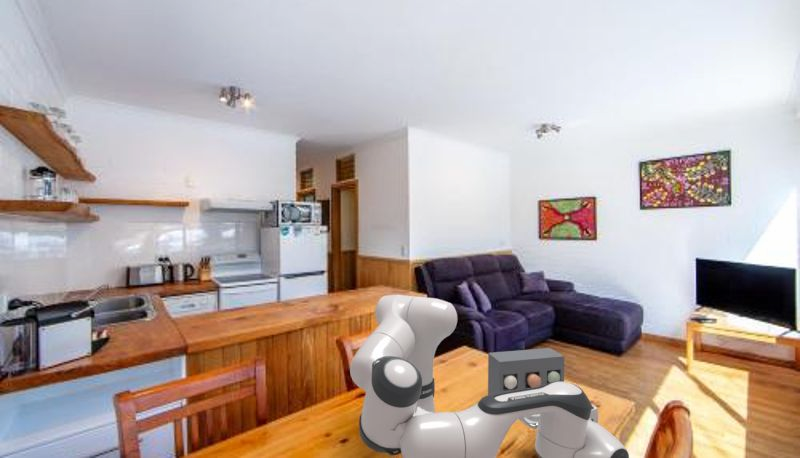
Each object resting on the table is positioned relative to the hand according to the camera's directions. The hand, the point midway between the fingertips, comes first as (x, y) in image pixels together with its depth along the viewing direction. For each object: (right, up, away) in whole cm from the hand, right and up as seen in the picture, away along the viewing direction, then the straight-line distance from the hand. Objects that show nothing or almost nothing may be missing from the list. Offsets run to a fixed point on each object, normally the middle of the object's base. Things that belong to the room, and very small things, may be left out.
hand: (536, 396), depth 101 cm
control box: (+4, -10, +19) cm, 22 cm away
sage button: (+12, -4, +17) cm, 21 cm away
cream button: (-4, -4, +14) cm, 15 cm away
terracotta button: (+5, -4, +14) cm, 15 cm away
